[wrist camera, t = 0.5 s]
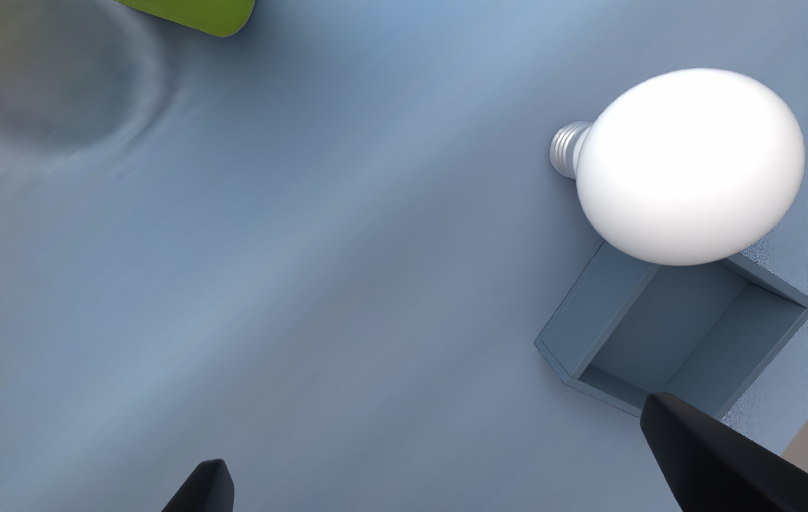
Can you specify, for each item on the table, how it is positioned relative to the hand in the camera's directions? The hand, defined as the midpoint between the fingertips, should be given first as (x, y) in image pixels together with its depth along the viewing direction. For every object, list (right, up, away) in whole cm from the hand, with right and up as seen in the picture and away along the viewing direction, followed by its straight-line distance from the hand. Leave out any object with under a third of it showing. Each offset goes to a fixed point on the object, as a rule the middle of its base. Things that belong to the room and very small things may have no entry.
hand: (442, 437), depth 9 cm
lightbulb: (+7, +9, +13) cm, 18 cm away
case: (+13, +1, +16) cm, 21 cm away
